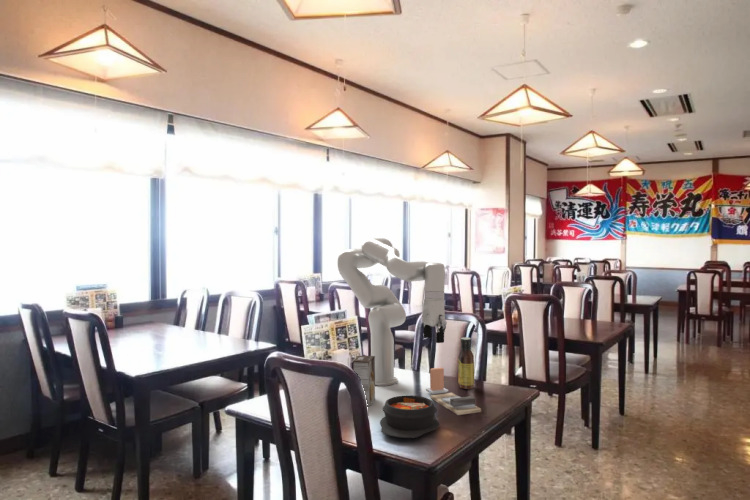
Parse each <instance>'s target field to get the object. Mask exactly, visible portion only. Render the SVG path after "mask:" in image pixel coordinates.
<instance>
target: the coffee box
mask: <svg viewBox="0 0 750 500" xmlns="http://www.w3.org/2000/svg"><path fill="white" fill-rule="evenodd" d="M353 370H354V371H355V372H356V373H357V374H358V376H359V377H360V379H361V382H362V385H363V388H364V391H365V395H366V400H367V404H368V406H367V407H370V406H371V405H372V403H374V401H375V399H376V385H375V356H371V355H358V356H357V357H356V358H354V360H352V371H353Z"/></svg>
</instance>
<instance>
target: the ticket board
mask: <svg viewBox="0 0 750 500" xmlns="http://www.w3.org/2000/svg"><path fill="white" fill-rule="evenodd" d="M430 400H432V401H434V402H437V403H438V404H439V405H441V406H442V407H444V408H446V409H447V410H450V411H451V412H453V413H454V414H455V415H457V416H461V415H467V414H476V413H482V408H481V407H479V406H477V405H476V397H474V396H472V395H469V396H462V397H461V396H459V395H457V394H455V393H454V392H446V393H438V394H430Z"/></svg>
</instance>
